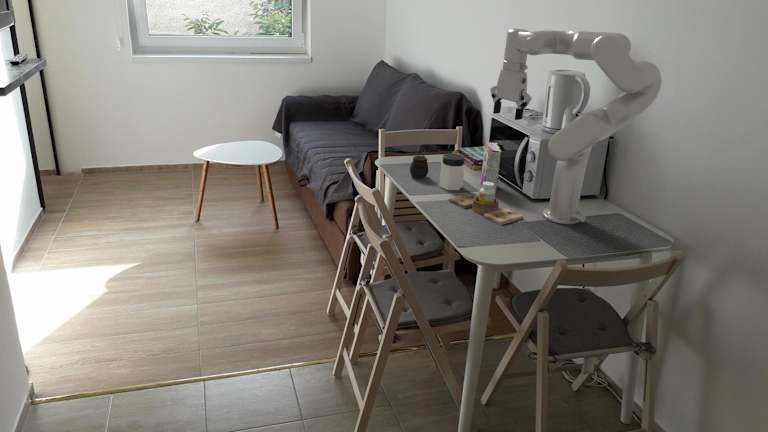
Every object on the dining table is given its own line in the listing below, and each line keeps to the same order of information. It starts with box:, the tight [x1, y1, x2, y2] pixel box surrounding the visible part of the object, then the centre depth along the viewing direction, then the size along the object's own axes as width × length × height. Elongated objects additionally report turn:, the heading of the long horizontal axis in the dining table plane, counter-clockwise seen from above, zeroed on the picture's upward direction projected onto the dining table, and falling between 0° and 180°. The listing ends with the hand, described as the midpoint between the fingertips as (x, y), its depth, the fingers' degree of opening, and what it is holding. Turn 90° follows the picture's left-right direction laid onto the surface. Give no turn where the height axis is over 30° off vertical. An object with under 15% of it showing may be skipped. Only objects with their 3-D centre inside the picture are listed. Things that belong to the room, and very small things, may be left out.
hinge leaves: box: [448, 192, 524, 226], centre depth 220 cm, size 25×11×4 cm, turn 39°
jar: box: [438, 153, 466, 191], centre depth 238 cm, size 9×8×12 cm
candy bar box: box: [480, 141, 502, 194], centre depth 239 cm, size 11×5×16 cm, turn 179°
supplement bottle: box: [478, 182, 496, 204], centre depth 219 cm, size 5×5×10 cm
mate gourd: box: [409, 149, 429, 179], centre depth 248 cm, size 7×8×10 cm
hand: (507, 116), depth 222 cm, fingers open, 9 cm apart
